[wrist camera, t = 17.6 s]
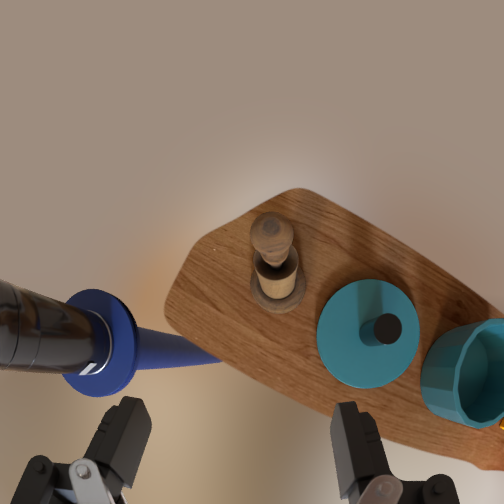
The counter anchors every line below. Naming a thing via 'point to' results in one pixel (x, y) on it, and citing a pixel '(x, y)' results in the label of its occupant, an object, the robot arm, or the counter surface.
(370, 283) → the lid
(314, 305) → the counter surface
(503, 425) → the orange juice
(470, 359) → the pot
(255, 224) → the mortar and pestle
